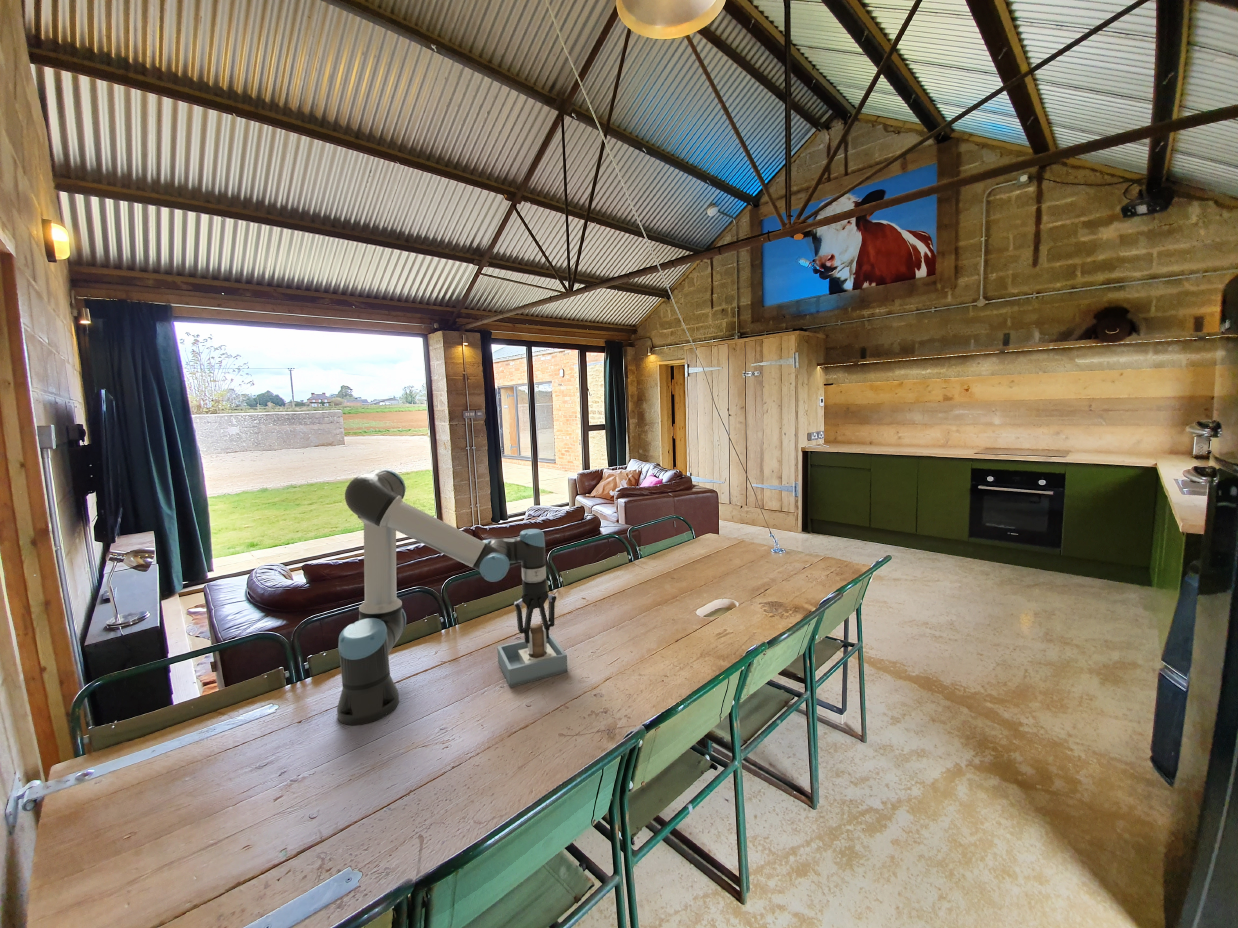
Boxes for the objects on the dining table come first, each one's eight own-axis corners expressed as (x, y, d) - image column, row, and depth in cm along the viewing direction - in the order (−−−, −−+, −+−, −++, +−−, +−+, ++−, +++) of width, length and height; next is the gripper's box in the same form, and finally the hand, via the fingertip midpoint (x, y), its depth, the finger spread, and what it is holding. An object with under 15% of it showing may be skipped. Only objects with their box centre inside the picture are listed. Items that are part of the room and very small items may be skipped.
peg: (530, 661, 154) (528, 625, 153) (542, 658, 156) (540, 622, 154) (533, 666, 150) (531, 630, 149) (546, 663, 152) (544, 627, 151)
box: (509, 687, 141) (508, 669, 141) (498, 662, 156) (497, 646, 155) (567, 671, 149) (566, 654, 148) (551, 649, 163) (550, 633, 163)
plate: (526, 673, 146) (526, 664, 146) (518, 659, 155) (518, 650, 155) (558, 665, 151) (557, 656, 150) (548, 651, 160) (547, 643, 159)
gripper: (510, 587, 143) (513, 662, 146) (563, 577, 150) (566, 649, 153) (504, 579, 150) (508, 651, 152) (556, 571, 157) (558, 639, 160)
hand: (537, 650), depth 153 cm, fingers closed on peg, 4 cm apart
